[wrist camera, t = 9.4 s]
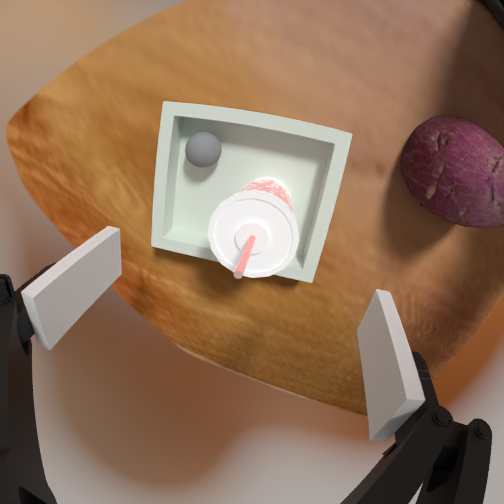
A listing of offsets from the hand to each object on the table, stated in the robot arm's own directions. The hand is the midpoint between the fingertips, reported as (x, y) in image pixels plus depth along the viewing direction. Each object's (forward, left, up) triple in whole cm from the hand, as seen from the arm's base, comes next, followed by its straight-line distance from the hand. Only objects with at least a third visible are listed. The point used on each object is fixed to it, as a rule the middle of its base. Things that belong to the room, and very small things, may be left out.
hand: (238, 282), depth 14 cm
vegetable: (-17, -8, -16) cm, 25 cm away
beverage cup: (0, 0, -15) cm, 15 cm away
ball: (+6, -4, -15) cm, 17 cm away
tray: (+2, -1, -16) cm, 16 cm away
